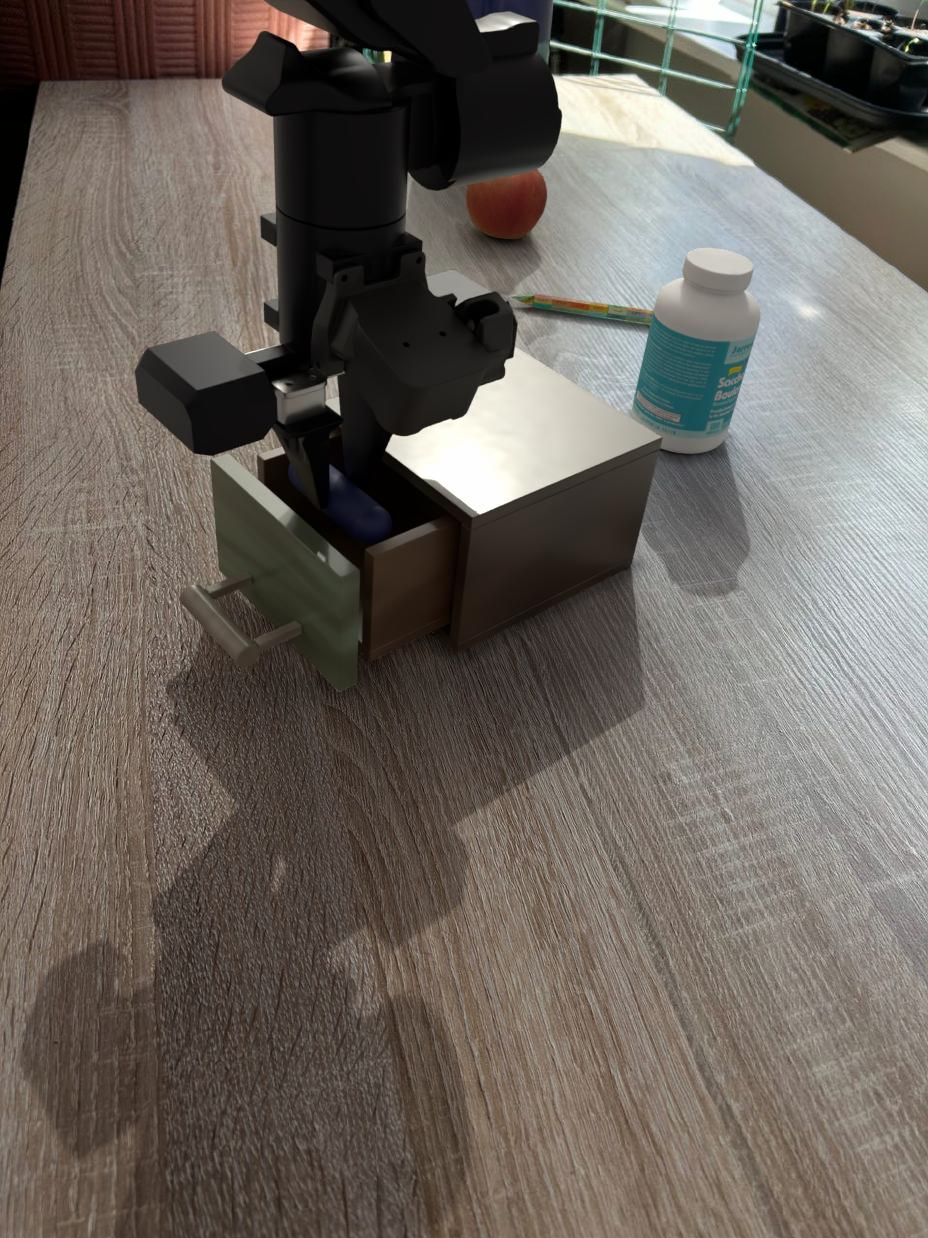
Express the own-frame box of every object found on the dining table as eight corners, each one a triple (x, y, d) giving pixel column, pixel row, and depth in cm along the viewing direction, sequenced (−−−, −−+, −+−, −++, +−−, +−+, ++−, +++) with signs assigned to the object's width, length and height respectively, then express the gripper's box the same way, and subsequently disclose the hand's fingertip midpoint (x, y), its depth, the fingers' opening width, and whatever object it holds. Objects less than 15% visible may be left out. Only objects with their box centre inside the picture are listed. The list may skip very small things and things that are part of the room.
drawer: (272, 726, 54) (266, 610, 49) (154, 595, 61) (139, 481, 56) (526, 600, 63) (544, 491, 58) (400, 498, 70) (406, 393, 65)
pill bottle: (717, 468, 78) (767, 292, 69) (619, 443, 79) (656, 268, 70) (731, 420, 83) (779, 252, 75) (639, 398, 85) (676, 230, 76)
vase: (396, 151, 124) (410, -182, 104) (464, 127, 133) (489, -184, 113) (495, 183, 119) (530, -161, 98) (558, 156, 128) (603, -165, 107)
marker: (280, 485, 59) (279, 451, 58) (313, 473, 60) (313, 440, 59) (365, 559, 55) (366, 525, 53) (399, 545, 56) (401, 511, 55)
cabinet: (456, 655, 60) (472, 518, 54) (321, 534, 68) (321, 401, 62) (631, 566, 68) (663, 437, 62) (493, 466, 75) (508, 341, 69)
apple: (543, 224, 111) (553, 144, 106) (539, 253, 105) (551, 170, 100) (466, 214, 111) (474, 134, 106) (459, 243, 105) (466, 160, 100)
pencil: (509, 305, 95) (709, 335, 94) (510, 293, 95) (712, 323, 94) (511, 299, 96) (709, 328, 95) (512, 287, 96) (712, 317, 94)
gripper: (254, 326, 37) (268, 651, 48) (619, 231, 47) (566, 517, 57) (109, 217, 43) (149, 526, 54) (459, 153, 53) (437, 424, 63)
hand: (337, 498), depth 57 cm, fingers closed on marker, 2 cm apart
